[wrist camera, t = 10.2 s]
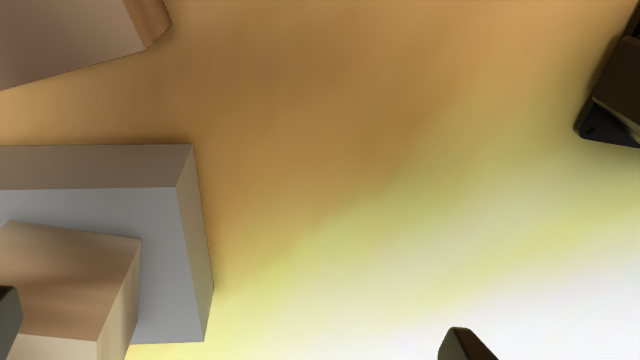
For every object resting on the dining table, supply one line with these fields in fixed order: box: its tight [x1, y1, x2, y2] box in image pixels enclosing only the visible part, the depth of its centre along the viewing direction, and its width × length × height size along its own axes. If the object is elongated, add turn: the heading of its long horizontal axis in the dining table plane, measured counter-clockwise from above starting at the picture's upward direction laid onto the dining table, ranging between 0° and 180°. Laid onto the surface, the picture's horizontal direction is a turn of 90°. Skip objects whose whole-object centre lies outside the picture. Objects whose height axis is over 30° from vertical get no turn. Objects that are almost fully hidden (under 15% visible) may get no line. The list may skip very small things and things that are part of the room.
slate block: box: [0, 144, 214, 345], centre depth 21 cm, size 9×9×4 cm
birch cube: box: [0, 220, 142, 360], centre depth 17 cm, size 5×5×5 cm
